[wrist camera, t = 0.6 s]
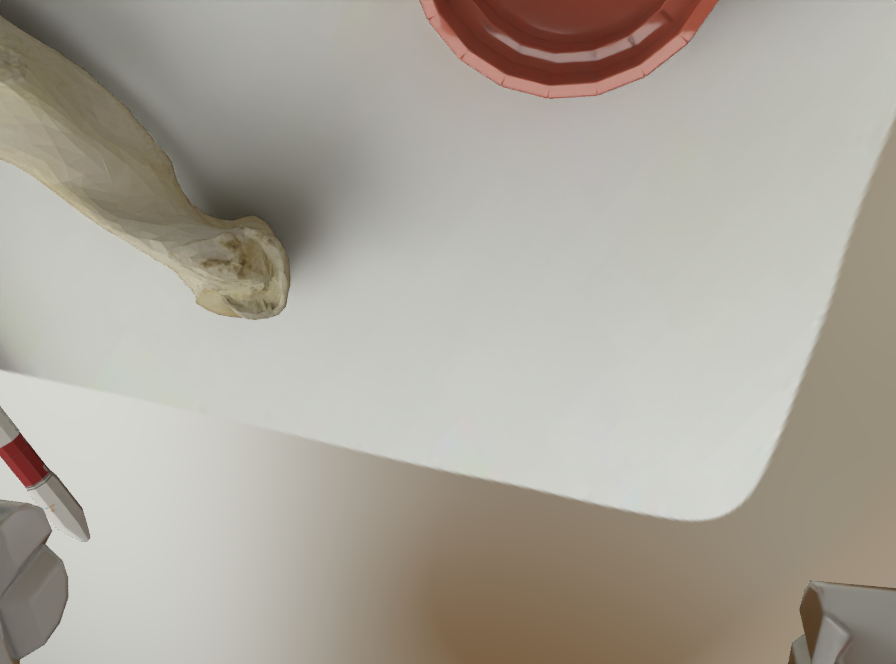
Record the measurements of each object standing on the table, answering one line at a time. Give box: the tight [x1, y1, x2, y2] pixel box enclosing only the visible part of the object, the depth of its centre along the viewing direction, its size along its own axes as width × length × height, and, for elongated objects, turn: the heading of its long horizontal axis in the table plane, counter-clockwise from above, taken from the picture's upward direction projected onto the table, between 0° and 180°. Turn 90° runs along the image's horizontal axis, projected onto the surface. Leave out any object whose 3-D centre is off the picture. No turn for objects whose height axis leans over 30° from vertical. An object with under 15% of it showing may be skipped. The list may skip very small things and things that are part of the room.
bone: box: [0, 16, 290, 320], centre depth 36 cm, size 24×8×10 cm
